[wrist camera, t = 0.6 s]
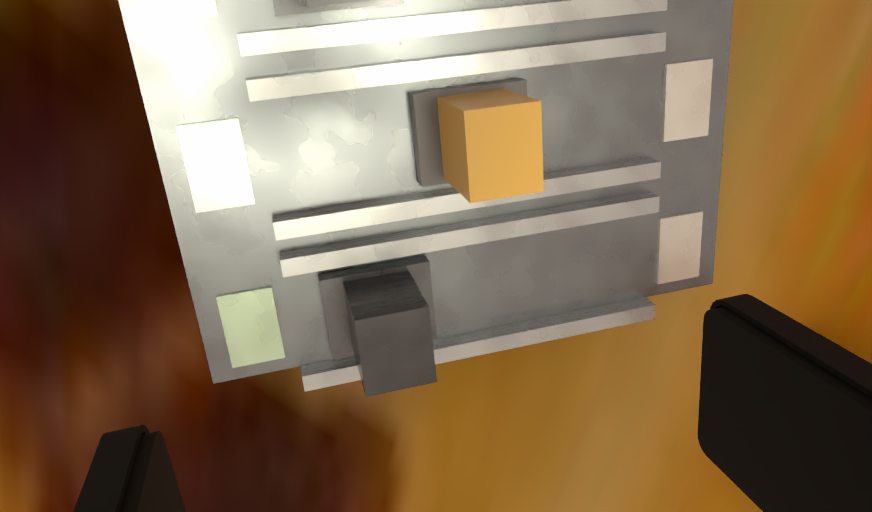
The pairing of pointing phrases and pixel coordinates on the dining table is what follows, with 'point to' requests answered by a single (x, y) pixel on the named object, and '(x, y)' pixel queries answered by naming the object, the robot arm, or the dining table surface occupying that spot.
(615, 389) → the dining table surface
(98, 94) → the dining table surface
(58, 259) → the dining table surface
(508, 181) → the block
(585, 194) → the breaker board
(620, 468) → the dining table surface
